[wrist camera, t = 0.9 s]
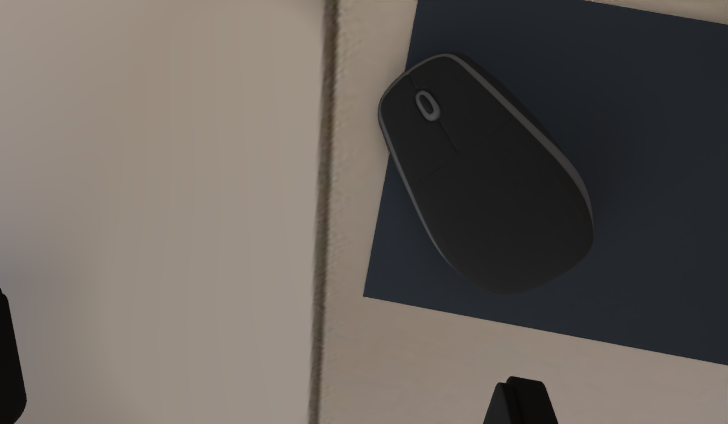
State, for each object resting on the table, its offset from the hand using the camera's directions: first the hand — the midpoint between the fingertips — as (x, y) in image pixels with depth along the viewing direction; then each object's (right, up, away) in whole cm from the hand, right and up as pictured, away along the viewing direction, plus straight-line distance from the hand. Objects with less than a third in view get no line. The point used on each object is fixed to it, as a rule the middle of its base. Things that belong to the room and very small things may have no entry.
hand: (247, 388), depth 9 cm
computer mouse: (+8, +5, +14) cm, 17 cm away
